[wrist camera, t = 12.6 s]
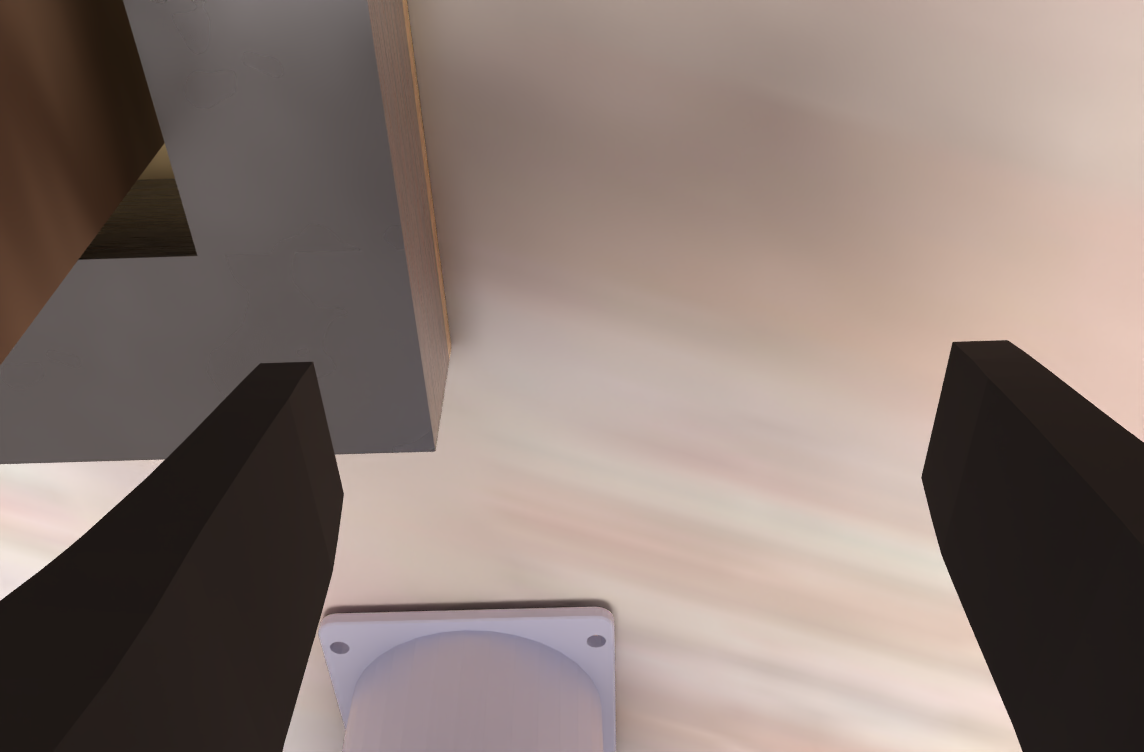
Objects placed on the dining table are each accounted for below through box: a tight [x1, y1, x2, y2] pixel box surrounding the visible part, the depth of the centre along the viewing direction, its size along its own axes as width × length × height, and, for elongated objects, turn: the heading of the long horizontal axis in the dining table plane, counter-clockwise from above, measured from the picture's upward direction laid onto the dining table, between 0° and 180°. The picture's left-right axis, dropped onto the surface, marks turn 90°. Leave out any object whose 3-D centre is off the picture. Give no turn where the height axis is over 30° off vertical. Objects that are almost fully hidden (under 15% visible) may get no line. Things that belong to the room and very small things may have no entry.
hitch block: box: [0, 0, 451, 464], centre depth 17 cm, size 15×13×4 cm
